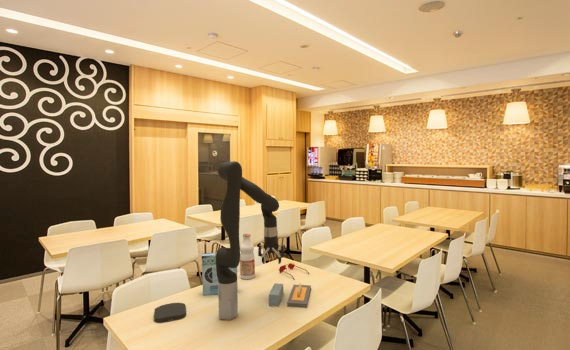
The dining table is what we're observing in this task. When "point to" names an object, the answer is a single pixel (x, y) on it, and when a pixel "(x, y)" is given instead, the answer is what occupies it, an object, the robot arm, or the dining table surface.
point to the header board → (299, 303)
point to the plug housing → (276, 294)
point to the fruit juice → (247, 258)
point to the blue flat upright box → (211, 274)
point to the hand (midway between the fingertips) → (271, 263)
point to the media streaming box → (170, 312)
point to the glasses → (288, 267)
